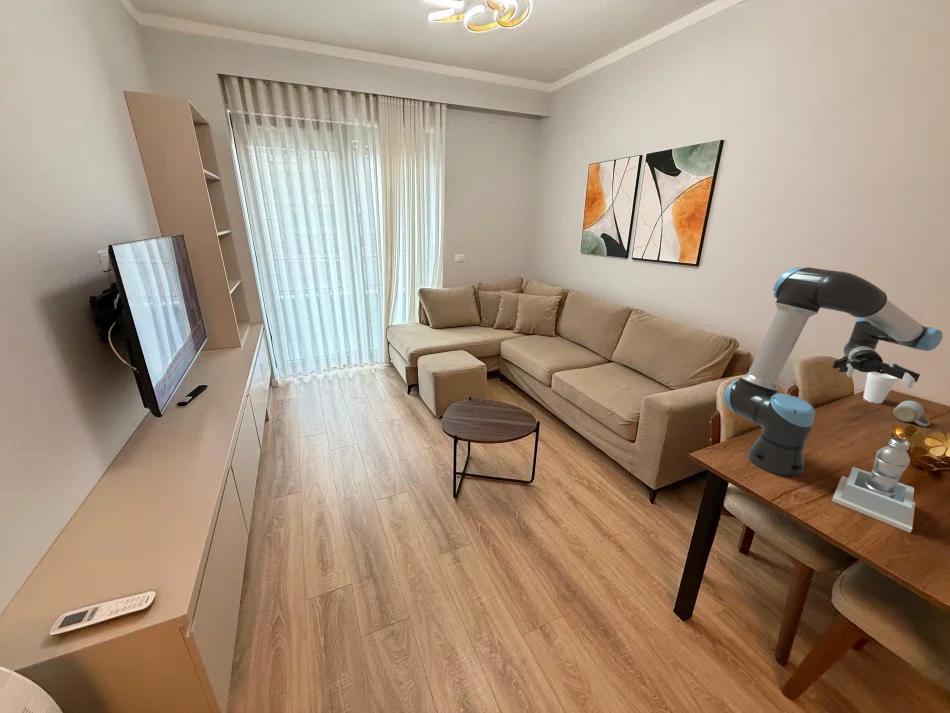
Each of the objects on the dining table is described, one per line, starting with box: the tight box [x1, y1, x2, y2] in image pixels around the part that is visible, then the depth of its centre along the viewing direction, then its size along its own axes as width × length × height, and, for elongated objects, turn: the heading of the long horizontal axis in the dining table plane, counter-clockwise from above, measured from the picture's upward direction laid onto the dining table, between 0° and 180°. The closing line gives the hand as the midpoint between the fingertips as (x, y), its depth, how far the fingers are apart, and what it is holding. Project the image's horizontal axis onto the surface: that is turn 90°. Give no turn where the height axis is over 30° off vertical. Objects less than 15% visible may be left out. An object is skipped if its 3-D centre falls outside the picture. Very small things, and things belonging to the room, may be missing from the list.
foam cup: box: [862, 372, 899, 404], centre depth 176 cm, size 10×9×13 cm
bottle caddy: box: [831, 466, 916, 533], centre depth 112 cm, size 16×16×6 cm
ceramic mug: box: [892, 400, 931, 427], centre depth 159 cm, size 11×8×8 cm
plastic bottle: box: [862, 436, 911, 499], centre depth 109 cm, size 6×7×20 cm
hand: (880, 378), depth 119 cm, fingers open, 13 cm apart
